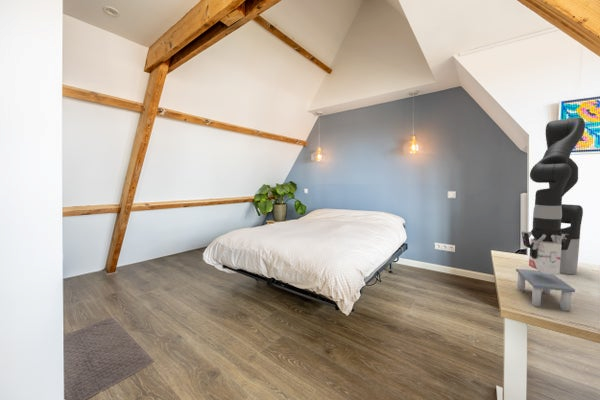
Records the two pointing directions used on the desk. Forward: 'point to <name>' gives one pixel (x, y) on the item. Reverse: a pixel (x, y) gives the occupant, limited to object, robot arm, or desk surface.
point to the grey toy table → (544, 286)
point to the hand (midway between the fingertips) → (544, 258)
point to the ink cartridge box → (547, 257)
